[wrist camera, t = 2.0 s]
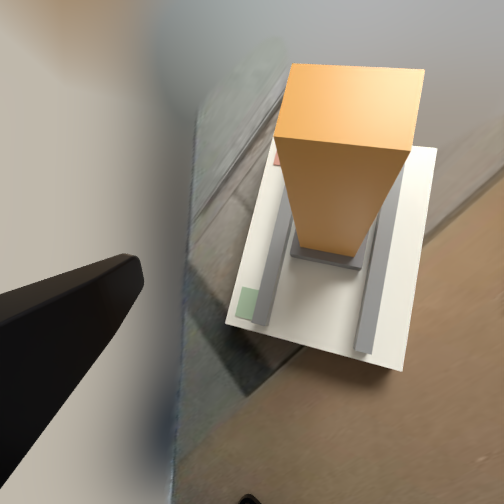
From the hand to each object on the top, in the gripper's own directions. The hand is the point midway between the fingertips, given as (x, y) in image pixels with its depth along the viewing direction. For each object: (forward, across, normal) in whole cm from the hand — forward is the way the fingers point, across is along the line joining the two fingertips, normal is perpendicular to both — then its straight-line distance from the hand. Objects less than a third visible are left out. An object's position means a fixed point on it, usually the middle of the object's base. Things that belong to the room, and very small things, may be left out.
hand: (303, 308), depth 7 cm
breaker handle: (+11, 0, +4) cm, 12 cm away
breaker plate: (+13, 0, +6) cm, 14 cm away
